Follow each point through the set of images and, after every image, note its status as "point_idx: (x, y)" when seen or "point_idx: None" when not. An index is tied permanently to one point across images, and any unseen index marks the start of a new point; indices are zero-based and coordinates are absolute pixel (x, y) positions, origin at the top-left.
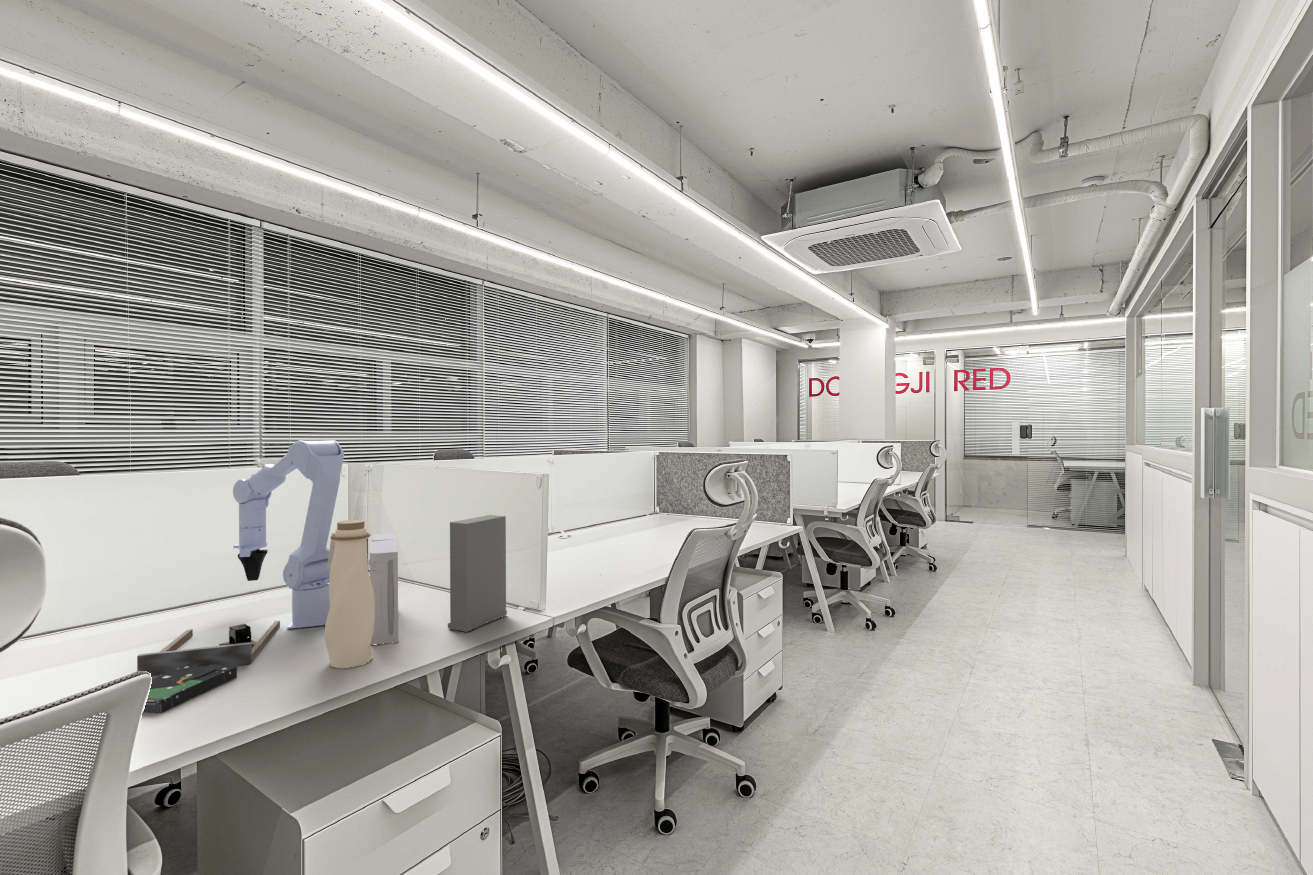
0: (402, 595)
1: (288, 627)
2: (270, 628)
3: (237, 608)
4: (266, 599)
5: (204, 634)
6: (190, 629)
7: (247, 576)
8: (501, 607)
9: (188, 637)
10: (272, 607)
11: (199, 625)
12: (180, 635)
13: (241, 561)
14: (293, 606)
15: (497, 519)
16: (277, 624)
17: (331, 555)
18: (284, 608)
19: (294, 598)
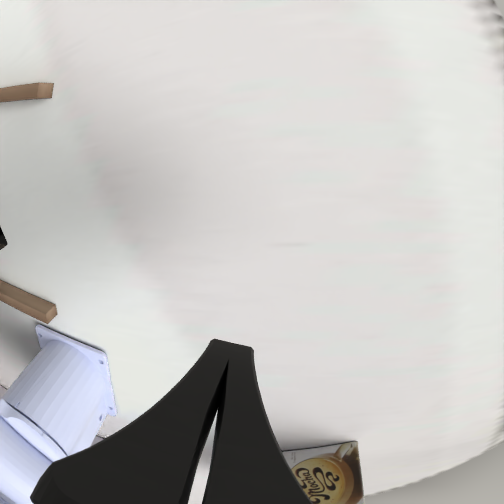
0: None
1: (35, 327)
2: (3, 296)
3: (381, 203)
4: (445, 300)
5: (49, 129)
6: (35, 93)
7: (199, 360)
8: None
9: (25, 99)
10: (303, 320)
11: (162, 78)
12: (3, 89)
13: (95, 445)
14: (26, 369)
15: None
16: (30, 313)
17: None
18: (259, 350)
19: (12, 384)
